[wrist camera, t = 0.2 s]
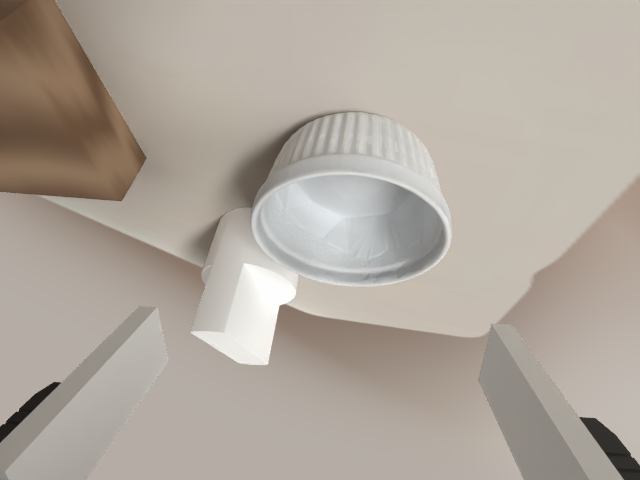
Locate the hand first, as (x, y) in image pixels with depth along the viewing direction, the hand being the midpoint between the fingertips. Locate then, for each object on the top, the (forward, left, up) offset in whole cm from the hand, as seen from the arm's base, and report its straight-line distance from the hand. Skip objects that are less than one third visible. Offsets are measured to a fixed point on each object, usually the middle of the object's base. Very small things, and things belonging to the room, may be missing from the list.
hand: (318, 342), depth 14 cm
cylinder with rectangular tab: (+15, -8, -16) cm, 23 cm away
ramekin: (+5, +1, -16) cm, 17 cm away
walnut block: (-1, -22, -16) cm, 27 cm away
